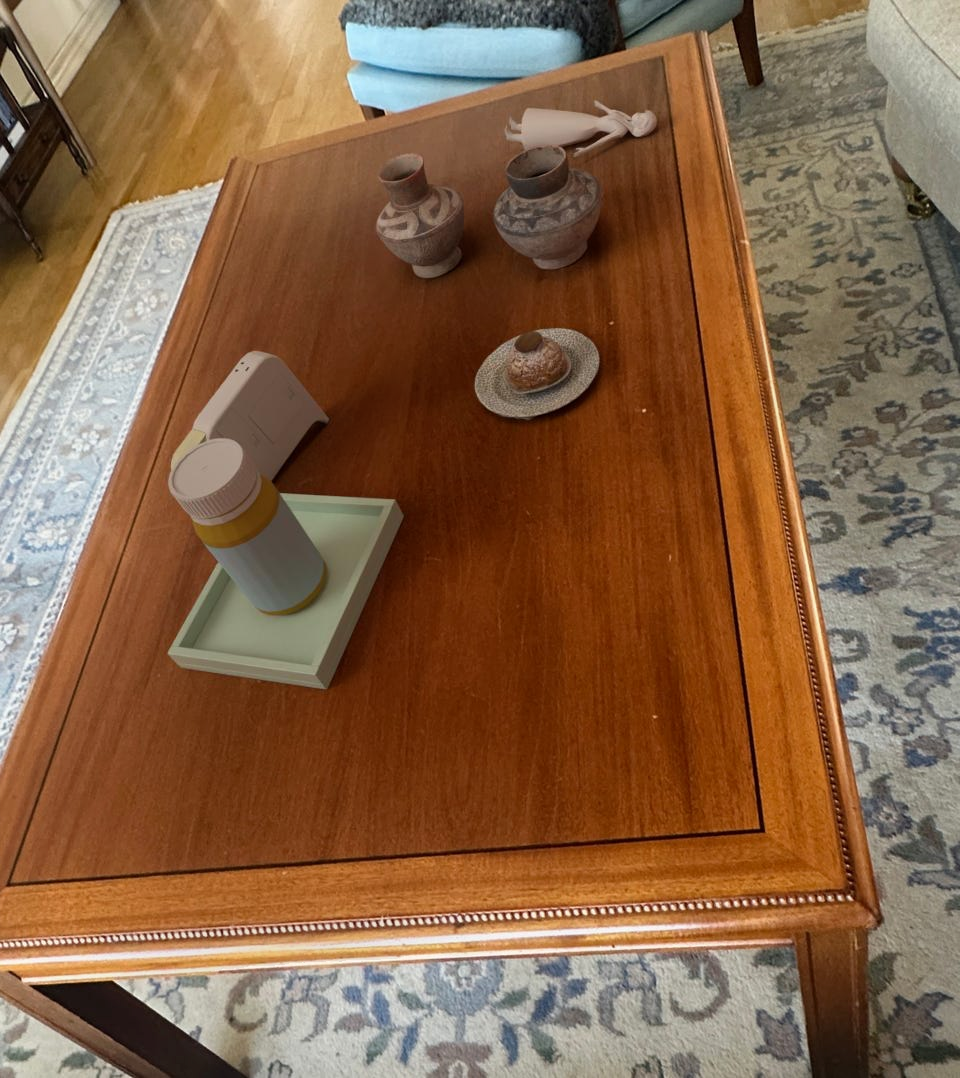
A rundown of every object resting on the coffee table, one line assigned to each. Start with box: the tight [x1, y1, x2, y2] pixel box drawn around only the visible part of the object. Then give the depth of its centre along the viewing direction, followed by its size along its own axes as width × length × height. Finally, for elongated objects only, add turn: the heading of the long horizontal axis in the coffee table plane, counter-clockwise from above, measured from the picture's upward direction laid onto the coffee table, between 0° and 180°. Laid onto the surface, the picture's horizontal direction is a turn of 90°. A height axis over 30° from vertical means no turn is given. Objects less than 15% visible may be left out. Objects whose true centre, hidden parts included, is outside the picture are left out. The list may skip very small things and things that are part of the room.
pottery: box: [375, 145, 602, 279], centre depth 102 cm, size 11×25×12 cm, turn 74°
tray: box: [166, 492, 405, 690], centre depth 84 cm, size 18×15×2 cm
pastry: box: [474, 327, 600, 421], centre depth 91 cm, size 12×12×5 cm
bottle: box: [167, 438, 327, 616], centre depth 78 cm, size 7×7×15 cm
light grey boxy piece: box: [170, 350, 330, 482], centre depth 92 cm, size 11×3×15 cm
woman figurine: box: [504, 100, 657, 158], centre depth 116 cm, size 12×4×18 cm
